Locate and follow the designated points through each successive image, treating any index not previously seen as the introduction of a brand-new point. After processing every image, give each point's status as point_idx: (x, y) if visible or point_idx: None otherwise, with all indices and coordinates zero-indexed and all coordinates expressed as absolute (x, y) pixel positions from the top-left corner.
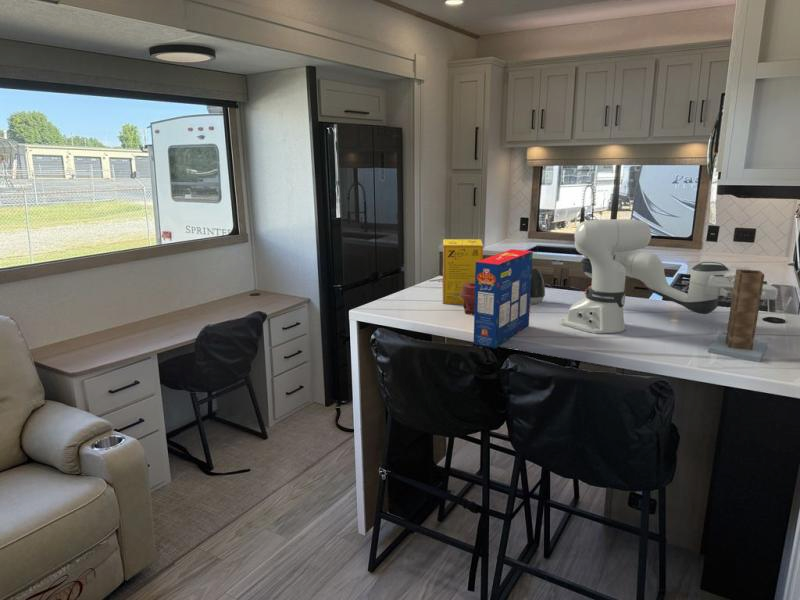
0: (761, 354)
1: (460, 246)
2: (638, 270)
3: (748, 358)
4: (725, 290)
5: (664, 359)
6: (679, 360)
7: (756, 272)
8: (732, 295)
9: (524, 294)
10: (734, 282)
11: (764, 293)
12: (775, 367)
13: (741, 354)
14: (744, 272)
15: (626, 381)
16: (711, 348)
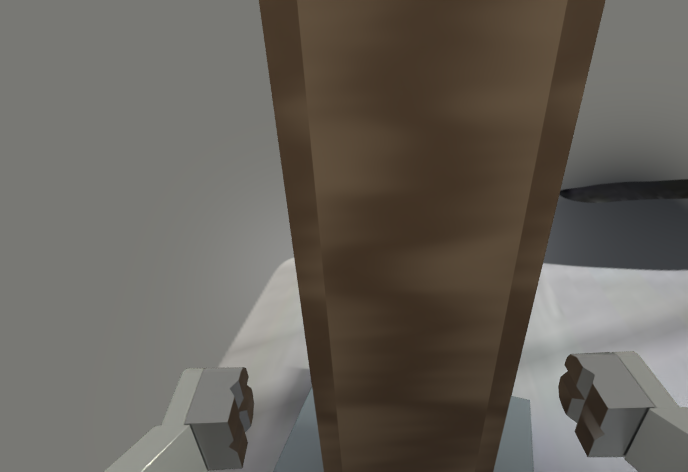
0: (311, 393)
1: None
2: None
3: None
4: (673, 409)
5: (629, 295)
6: (585, 302)
7: (314, 10)
8: (528, 316)
9: None
10: (558, 176)
11: (147, 434)
12: (285, 342)
13: None
14: (474, 13)
15: (619, 183)
16: (515, 397)
